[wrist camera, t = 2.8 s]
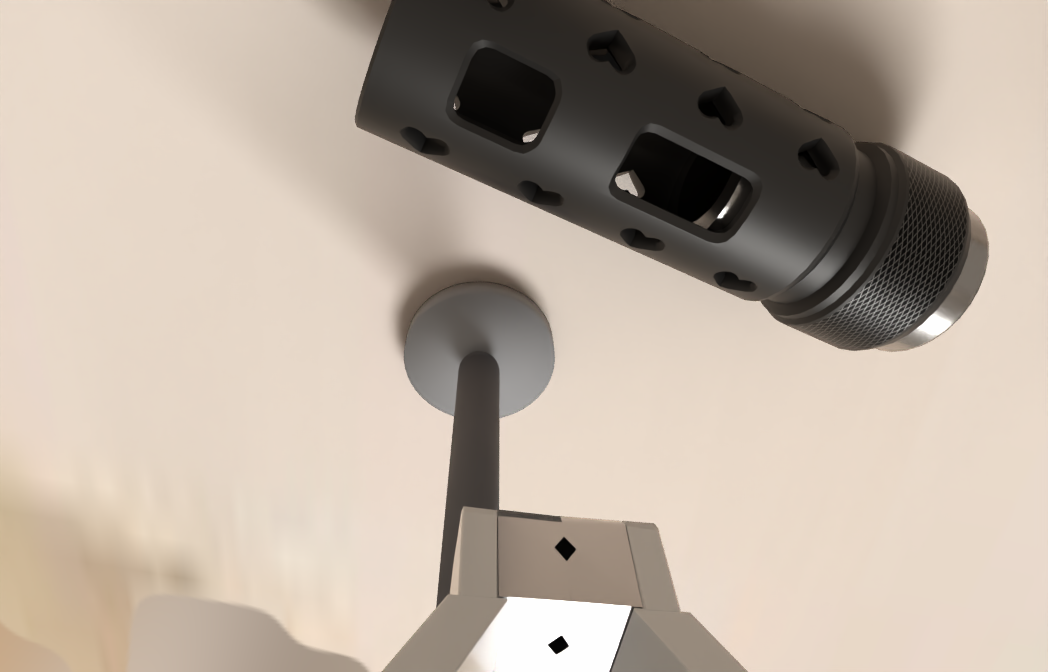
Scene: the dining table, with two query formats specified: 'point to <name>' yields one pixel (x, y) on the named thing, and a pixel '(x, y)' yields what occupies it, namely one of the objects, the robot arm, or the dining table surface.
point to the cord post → (476, 385)
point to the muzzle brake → (679, 163)
